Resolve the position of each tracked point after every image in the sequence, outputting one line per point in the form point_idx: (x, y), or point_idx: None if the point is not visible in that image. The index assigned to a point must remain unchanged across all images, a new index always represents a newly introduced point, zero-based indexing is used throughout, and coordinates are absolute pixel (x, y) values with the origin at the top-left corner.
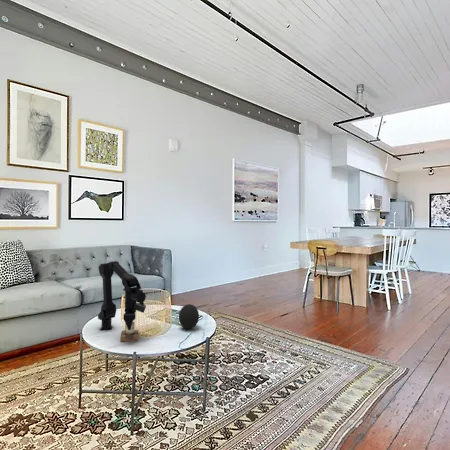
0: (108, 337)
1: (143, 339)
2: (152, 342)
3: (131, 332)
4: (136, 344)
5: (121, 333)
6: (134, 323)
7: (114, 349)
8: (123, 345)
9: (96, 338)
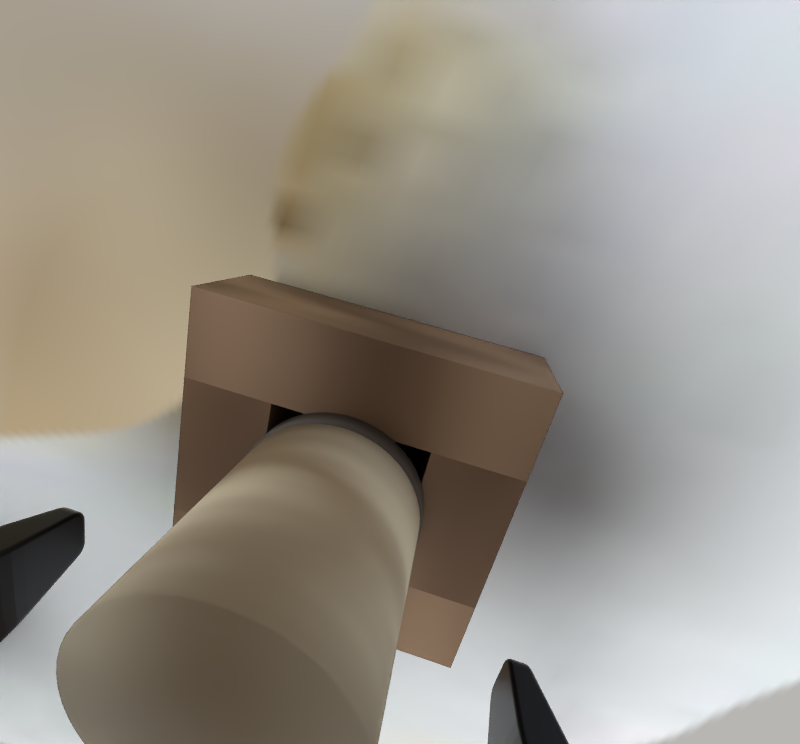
0: None
1: (510, 245)
2: (794, 93)
3: (414, 518)
4: (680, 422)
5: None
6: (253, 575)
7: (669, 710)
8: (596, 590)
9: None
